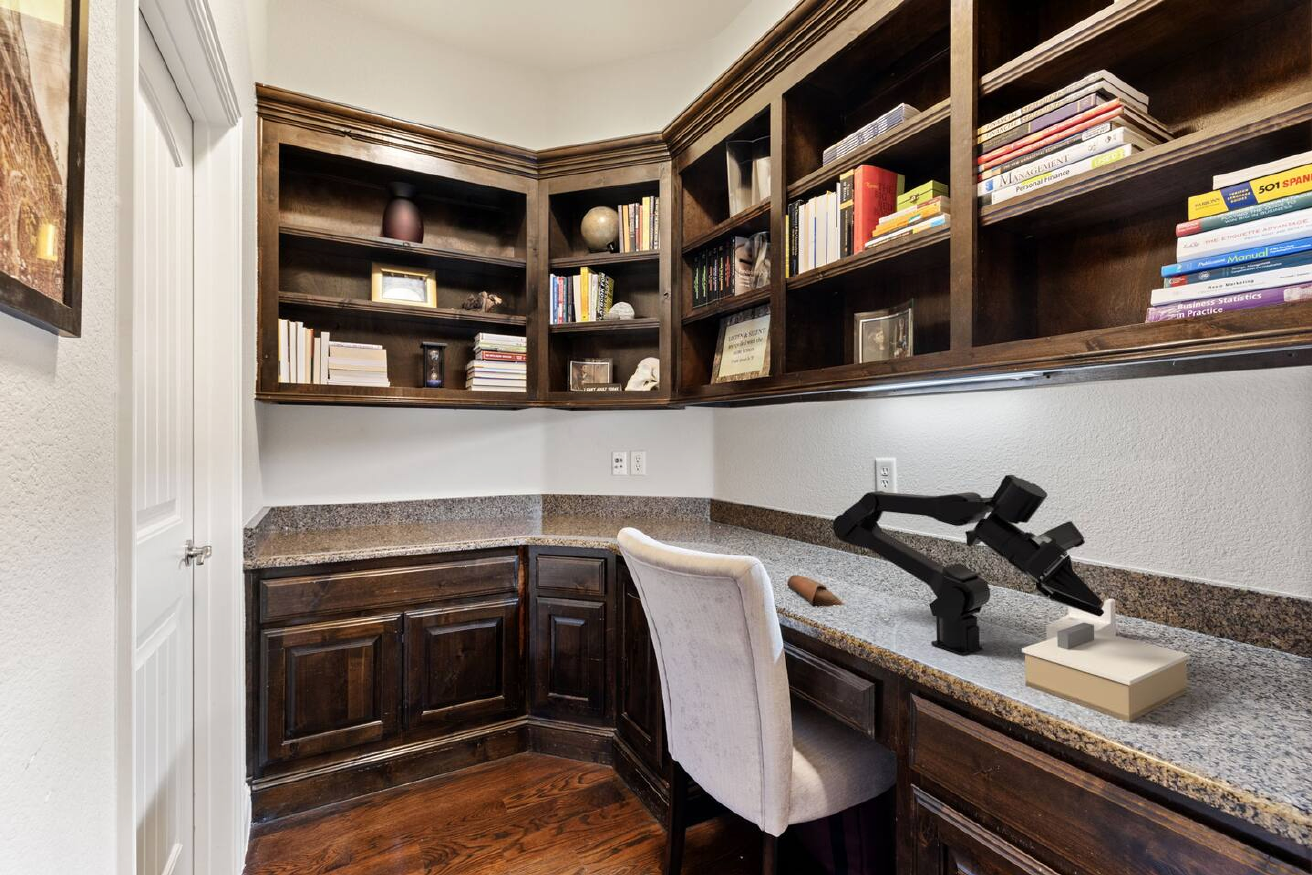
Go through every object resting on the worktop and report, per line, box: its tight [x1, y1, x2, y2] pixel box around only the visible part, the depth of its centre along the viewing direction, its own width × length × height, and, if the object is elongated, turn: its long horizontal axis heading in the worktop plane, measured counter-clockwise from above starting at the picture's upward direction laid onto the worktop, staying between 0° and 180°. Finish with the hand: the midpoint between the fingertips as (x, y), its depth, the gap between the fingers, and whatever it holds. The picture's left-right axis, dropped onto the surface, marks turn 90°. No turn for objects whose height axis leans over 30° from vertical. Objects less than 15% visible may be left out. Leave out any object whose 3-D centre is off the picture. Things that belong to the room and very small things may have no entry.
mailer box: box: [1024, 653, 1188, 723], centre depth 94 cm, size 14×18×5 cm
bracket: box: [1045, 598, 1117, 640], centre depth 115 cm, size 13×7×8 cm, turn 126°
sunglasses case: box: [787, 574, 845, 608], centre depth 148 cm, size 18×7×7 cm
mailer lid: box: [1021, 623, 1191, 685], centre depth 93 cm, size 15×19×3 cm
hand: (1101, 609), depth 93 cm, fingers open, 9 cm apart
